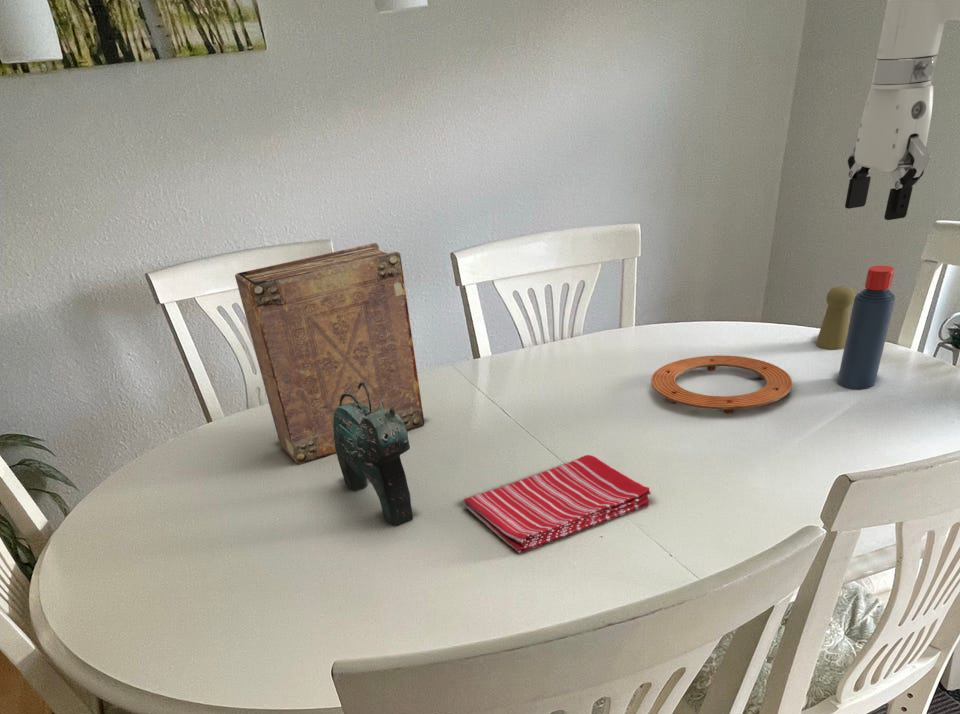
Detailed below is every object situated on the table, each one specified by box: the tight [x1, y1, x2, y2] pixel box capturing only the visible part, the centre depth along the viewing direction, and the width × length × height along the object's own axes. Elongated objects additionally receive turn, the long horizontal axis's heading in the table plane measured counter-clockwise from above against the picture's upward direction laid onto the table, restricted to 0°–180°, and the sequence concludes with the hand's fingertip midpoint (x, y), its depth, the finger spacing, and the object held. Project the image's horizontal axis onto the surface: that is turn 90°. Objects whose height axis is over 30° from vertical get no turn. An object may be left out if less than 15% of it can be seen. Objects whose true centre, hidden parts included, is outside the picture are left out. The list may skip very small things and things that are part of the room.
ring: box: [650, 355, 793, 415], centre depth 146 cm, size 25×25×2 cm
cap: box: [864, 265, 895, 291], centre depth 133 cm, size 4×4×3 cm
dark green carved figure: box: [333, 382, 414, 527], centre depth 117 cm, size 20×6×20 cm, turn 33°
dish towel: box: [462, 454, 651, 554], centre depth 117 cm, size 17×24×3 cm
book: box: [234, 242, 425, 465], centre depth 135 cm, size 25×9×30 cm, turn 120°
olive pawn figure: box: [815, 285, 856, 350], centre depth 156 cm, size 6×6×11 cm
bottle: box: [836, 288, 896, 390], centre depth 138 cm, size 6×6×19 cm
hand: (874, 212), depth 118 cm, fingers open, 9 cm apart
